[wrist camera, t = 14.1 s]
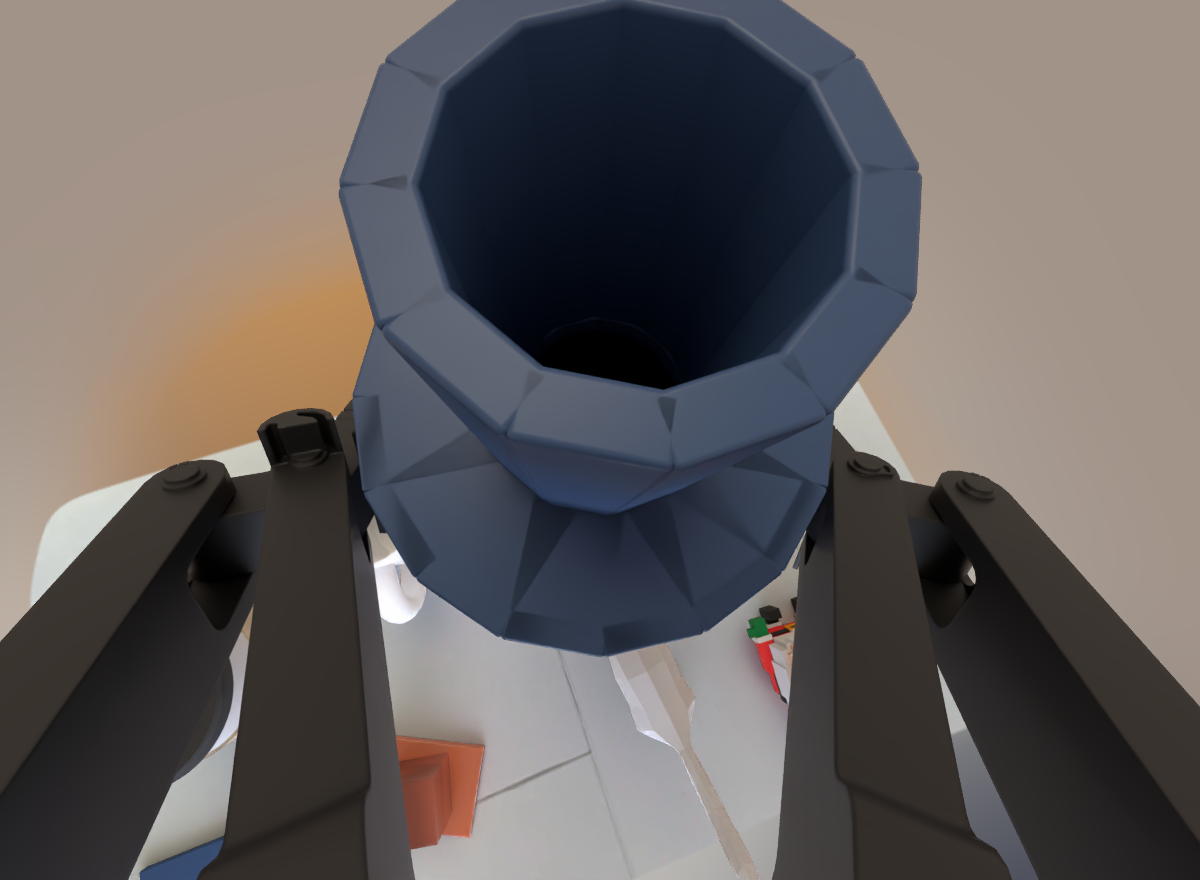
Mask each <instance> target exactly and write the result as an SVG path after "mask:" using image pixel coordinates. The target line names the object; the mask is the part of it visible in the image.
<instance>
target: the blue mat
mask: <svg viewBox="0 0 1200 880" xmlns="http://www.w3.org/2000/svg"><path fill="white" fill-rule="evenodd" d="M223 839H224V836H222V837H220V838H217V839H215V840H212V841H210V842H208V843H205V844H203V845H200V846H198V847H195V848H193V849H190V850H188V851H185V852H183V853H180V854H178V855H175V856H173V857H170V858H168V859H165V860H163V861H160V862H158V863H155V864H153V865H150V866H148V867H146V868H145V869H143V870H142V871H141V872H140V873H139V874H140V880H197V877H198V875H199V873H200V871H201V870H202V869H203V868H204V867H205V866H207V865H208V864H209V863H210V862H211V861H212V860H214V859H215V858H216V857H217V856H218V854H219V851H220V849H221V847H222V844H223Z"/></svg>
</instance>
